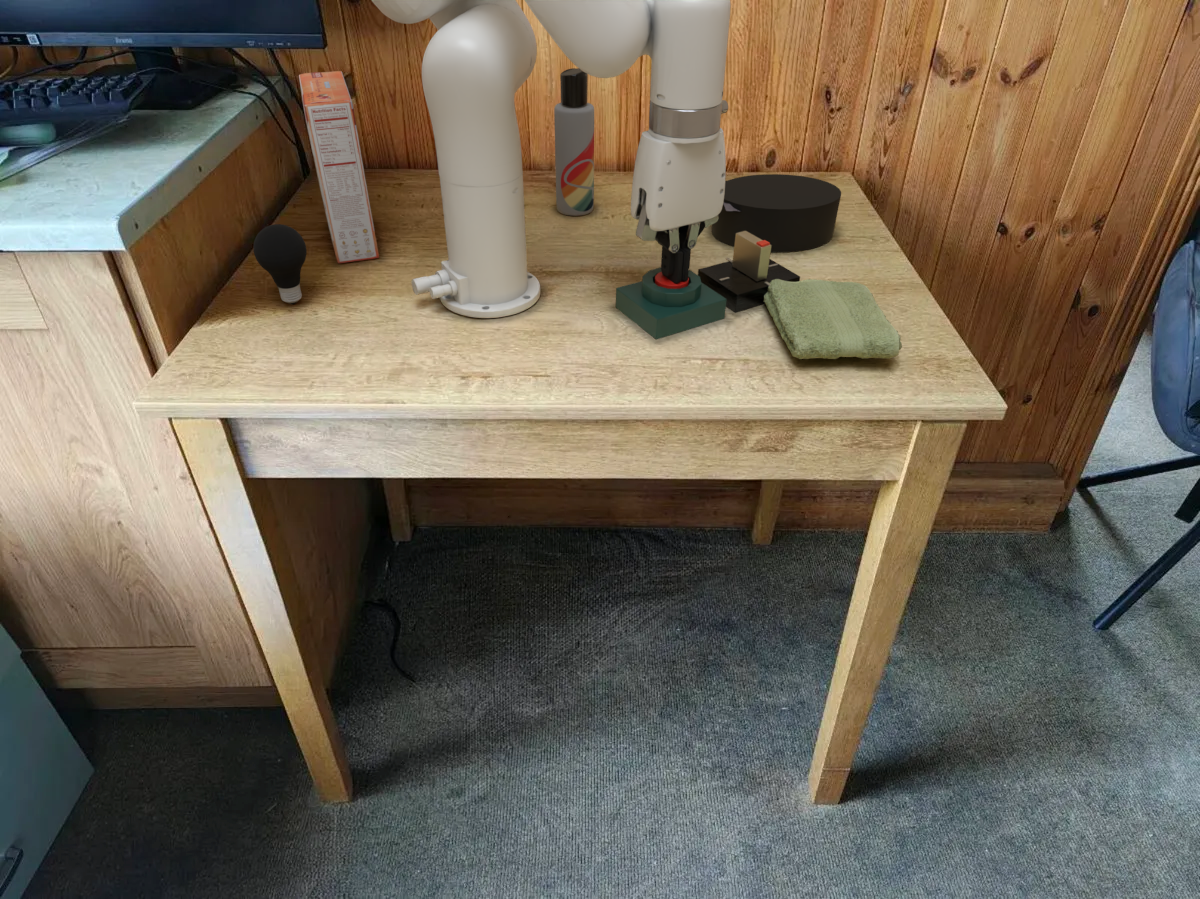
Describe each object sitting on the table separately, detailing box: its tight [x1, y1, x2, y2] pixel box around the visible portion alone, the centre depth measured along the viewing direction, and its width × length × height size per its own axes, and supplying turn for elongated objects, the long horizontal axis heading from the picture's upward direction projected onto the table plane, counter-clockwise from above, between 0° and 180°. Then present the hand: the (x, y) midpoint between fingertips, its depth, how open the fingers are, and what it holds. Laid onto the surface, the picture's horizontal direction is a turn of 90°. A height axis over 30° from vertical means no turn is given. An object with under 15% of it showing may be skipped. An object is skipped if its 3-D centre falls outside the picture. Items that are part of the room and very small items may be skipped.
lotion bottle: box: [553, 67, 595, 217], centre depth 122 cm, size 6×6×20 cm
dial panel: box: [697, 257, 801, 314], centre depth 107 cm, size 10×9×3 cm
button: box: [655, 272, 689, 289], centre depth 100 cm, size 4×4×2 cm
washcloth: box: [764, 278, 903, 360], centre depth 98 cm, size 13×18×3 cm
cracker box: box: [298, 70, 380, 264], centre depth 111 cm, size 14×6×21 cm, turn 18°
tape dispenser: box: [710, 173, 842, 253], centre depth 120 cm, size 14×18×8 cm
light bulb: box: [253, 223, 308, 305], centre depth 100 cm, size 6×6×10 cm
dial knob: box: [732, 231, 772, 281], centre depth 104 cm, size 5×2×5 cm, turn 31°
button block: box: [615, 266, 727, 340], centre depth 101 cm, size 10×9×4 cm
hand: (674, 277), depth 99 cm, fingers closed
